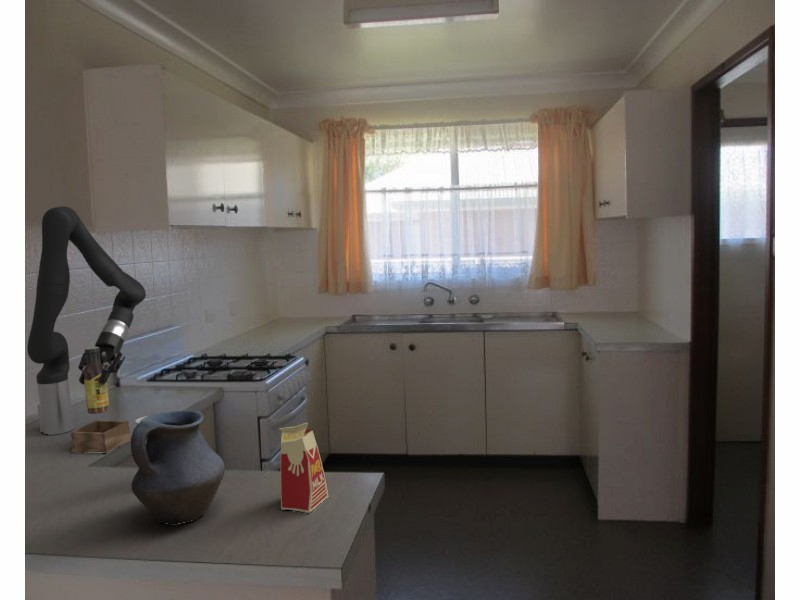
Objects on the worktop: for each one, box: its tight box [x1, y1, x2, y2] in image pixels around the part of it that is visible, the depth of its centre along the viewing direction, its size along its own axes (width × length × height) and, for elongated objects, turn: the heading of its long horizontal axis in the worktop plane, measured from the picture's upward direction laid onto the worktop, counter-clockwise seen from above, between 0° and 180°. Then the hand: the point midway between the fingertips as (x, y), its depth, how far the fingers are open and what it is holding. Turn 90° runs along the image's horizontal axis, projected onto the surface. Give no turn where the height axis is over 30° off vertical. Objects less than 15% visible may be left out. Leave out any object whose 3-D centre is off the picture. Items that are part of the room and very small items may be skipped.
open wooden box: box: [70, 419, 132, 454], centre depth 202 cm, size 12×12×6 cm
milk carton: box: [278, 422, 330, 512], centre depth 153 cm, size 9×9×20 cm
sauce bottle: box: [84, 346, 110, 415], centre depth 199 cm, size 6×6×20 cm
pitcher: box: [130, 409, 226, 525], centre depth 149 cm, size 21×22×25 cm
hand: (91, 383), depth 198 cm, fingers closed on sauce bottle, 6 cm apart
